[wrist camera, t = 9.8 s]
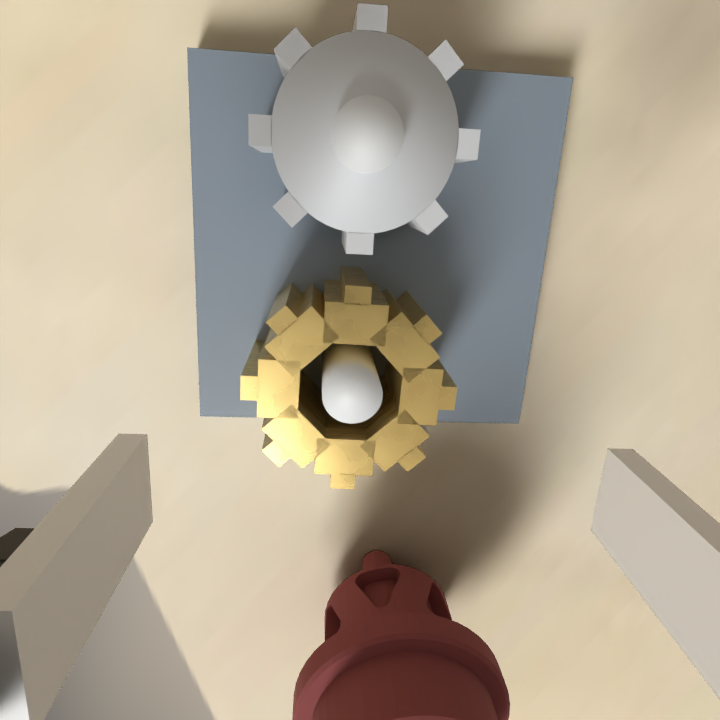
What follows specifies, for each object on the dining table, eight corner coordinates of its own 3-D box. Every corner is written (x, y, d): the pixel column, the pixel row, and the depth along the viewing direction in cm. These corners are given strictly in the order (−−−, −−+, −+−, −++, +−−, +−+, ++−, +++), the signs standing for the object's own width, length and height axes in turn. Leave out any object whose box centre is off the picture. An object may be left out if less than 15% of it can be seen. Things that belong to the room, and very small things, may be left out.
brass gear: (442, 273, 25) (470, 293, 21) (421, 439, 28) (442, 492, 23) (257, 259, 24) (242, 278, 20) (253, 432, 27) (238, 484, 22)
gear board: (561, 64, 24) (652, 18, 18) (509, 411, 29) (564, 478, 23) (194, 34, 23) (143, -27, 16) (206, 404, 28) (171, 472, 21)
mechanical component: (318, 674, 34) (282, 542, 31) (474, 642, 34) (454, 507, 31) (317, 931, 22) (258, 760, 19) (555, 882, 22) (536, 704, 19)
